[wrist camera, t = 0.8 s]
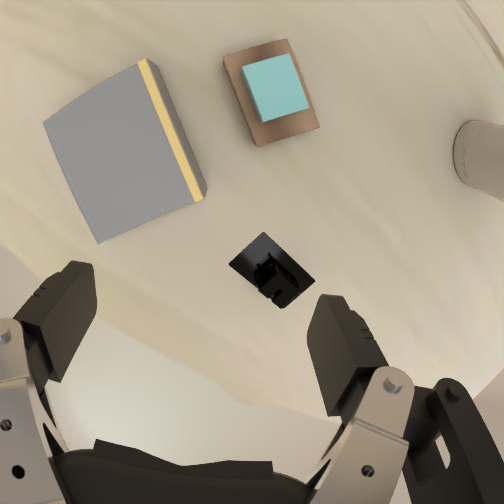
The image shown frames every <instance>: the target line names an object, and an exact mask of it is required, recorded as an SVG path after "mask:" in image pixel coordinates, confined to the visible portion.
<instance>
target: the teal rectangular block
mask: <svg viewBox="0 0 504 504" xmlns="http://www.w3.org/2000/svg"><path fill="white" fill-rule="evenodd" d="M241 73H242V76H243V78H244V81H245V83H246V86H247V88H248V91H249V93H250V96H251V99H252V101H253V104H254V107H255V109H256V112H257V114H258V117H259V120H260V122H265V121H268V120H272V119H275V118H278V117H281V116H284V115H287V114H291V113H294V112H297V111H301V110H304V109H308V108H309V105H308V102H307V100H306V97H305V94H304V91H303V88H302V86H301V83H300V80H299V77H298V75H297V72H296V69H295V67H294V64H293V62H292V59H291V57H290V54H285V55H281V56H277V57H273V58H270V59H266V60H263V61H259V62H256V63H253V64H249V65H246V66H243V67H242V69H241Z"/></svg>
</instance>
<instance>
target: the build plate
mask: <svg viewBox="0 0 504 504" xmlns="http://www.w3.org/2000/svg"><path fill="white" fill-rule="evenodd" d="M229 265H230V266H231V267H232V268H233V269H234V270H236V271H237V272H238V273H239V274H241V275H242V276H243V277H244V278H246V279H247V280H248V281H249V282H250V283H252V284H253V285H254V286H255V287H257V288H258V291H259V292H260V293H262V294H263V295H264V296H265V297H267V298H270V299H271V300H272V302H273V303H274V304H275V305H277V306H278V307H279V308H280V309H282V308H285V307H286V306H288V305H289V304H290V303H291V302H292V301H293V300H295V299H296V298H297V297H298V296H299V295H300V294H301V293H303V292H304V291H305V290H306V289H307V288H308V287H309V286H311V285H312V284H313V283H314V282H315V280H314V279H313V278H312V277H311V276H310V275H309V274H308V273H307V272H306V271H305V270H304V269H303V268H302V267H301V266H300V265H299V264H298V263H297V262H295V261H294V260H293V259H292V258H291V257H290V256H289V255H288V254H287V253H286V252H285V251H284V250H283V249H282V248H281V247H280V246H279V245H277V244H276V243H275V242H274V241H273V240H272V239H271V238H270V237H269V236H268V235H267V234H266V233H265V232H262V233H261V234H260V235H259V236H258V237H257V238H256V239H255V240H254V241H253V242H251V243H250V244H249V245H248V246H247V247H246V248H245V249H244V250H243V251H242V252H241V253H240V254H238V255H237V256H236V257H235V258H234V259H233V260H232V261H231V262H230V263H229Z"/></svg>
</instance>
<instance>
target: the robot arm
mask: <svg viewBox="0 0 504 504" xmlns="http://www.w3.org/2000/svg"><path fill="white" fill-rule="evenodd" d="M454 163H455V168H456V170H457V173H458V175H459V177H460V179H461V180H462V181H463V182H464V183H465V184H467V185H469V186H471V187H473V188H476V189H478V190H480V191H482V192H484V193H486V194H488V195H491V196H493V197H495V198H497V199H499V200H501V201H503V202H504V126H502V125H497V124H492V123H486V122H480V121H469V122H467V123H466V124H464V125H463V126H462V127H461V129H460V131H459V132H458V134H457V137H456V140H455V145H454ZM96 310H97V297H96V288H95V279H94V269H93V266H92V264H90V263H85V262H79V261H71V262H69V264H68V265H67V266H66V267H65V268H64V269H63V270H62V271H61V272H57V273H55V274H53V275H52V276H50V277H48V278H47V279H46V280H45V281H44V282H43V283H42V284H41V285H40V287H39V288H38V289H37V290H36V291H35V292H34V293H33V296H31V297H30V298H29V299H28V300H27V302H26V303H25V304H24V305H23V306H22V308H21V309H20V310H19V311H18V312H17V313H16V315H15V316H14V317H13V318H12V319H11V318H2V319H0V504H389V503H390V500H391V497H392V495H393V493H394V490H395V487H396V485H397V482H398V479H399V476H400V473H401V470H402V471H403V475H404V478H405V481H406V485H407V488H408V492H409V495H410V499H411V503H412V504H504V462H503V460H502V458H501V455H500V453H499V451H498V449H497V447H496V445H495V443H494V441H493V439H492V436H491V434H490V432H489V430H488V429H487V427H486V425H485V423H484V421H483V419H482V417H481V415H480V413H479V411H478V410H477V408H476V406H475V404H474V402H473V400H472V399H471V397H470V395H469V393H468V392H467V390H466V388H465V387H464V386H463V385H462V384H461V383H459V382H458V381H456V380H454V379H451V378H442V379H440V380H439V381H438V382H437V384H436V385H435V386H434V388H433V389H430V388H424V387H419V386H414V384H413V381H412V380H411V378H410V377H409V376H408V375H407V374H406V373H405V372H403V371H402V370H400V369H398V368H395V367H390V366H389V365H388V363H387V361H386V359H385V357H384V355H383V353H382V351H381V350H380V348H379V346H378V344H377V342H376V340H374V337H373V335H372V333H371V331H369V328H368V326H367V324H366V322H365V320H364V319H363V318H362V317H361V316H360V315H358V314H357V313H356V312H355V311H353V310H350V308H349V306H348V304H347V303H346V301H345V299H344V297H343V296H338V295H327V294H322V295H321V296H320V297H319V299H318V302H317V305H316V308H315V311H314V314H313V316H312V319H311V322H310V325H309V328H308V332H307V345H308V348H309V352H310V355H311V359H312V362H313V366H314V369H315V373H316V376H317V379H318V383H319V387H320V390H321V394H322V397H323V401H324V404H325V408H326V411H327V415H328V417H329V416H341V419H342V422H341V424H340V425H339V427H338V428H337V430H336V432H335V434H334V435H333V437H332V439H331V441H330V443H329V444H328V446H327V448H326V449H325V451H324V453H323V454H322V456H321V458H320V459H319V461H318V463H317V464H316V466H315V467H314V469H313V470H312V471H311V473H310V474H309V475H308V476H307V478H306V479H305V481H304V482H301V481H299V480H298V479H295V478H293V477H290V476H288V475H284V474H281V473H277V472H273V466H272V461H231V460H227V461H221V462H215V463H207V464H199V465H190V466H180V465H176V464H173V463H171V462H168V461H165V460H163V459H160V458H158V457H155V456H152V455H150V454H148V453H145V452H143V451H141V450H139V449H136V448H131V447H126V446H122V445H118V444H114V443H110V442H106V441H102V440H98V439H96V441H95V444H94V448H93V449H80V450H74V451H69V449H68V447H67V445H66V443H65V441H64V439H63V437H62V435H61V432H60V429H59V426H58V423H57V421H56V418H55V415H54V412H53V409H52V405H51V402H50V399H49V395H48V392H47V389H46V387H45V385H46V383H47V381H48V379H50V380H53V381H56V382H59V383H60V382H61V380H62V378H63V376H64V374H65V372H66V370H67V368H68V366H69V364H70V362H71V360H72V358H73V356H74V354H75V352H76V350H77V348H78V347H79V345H80V343H81V341H82V339H83V337H84V335H85V333H86V332H87V330H88V328H89V326H90V324H91V322H92V321H93V319H94V317H95V314H96ZM441 435H442V437H443V439H444V441H445V444H446V446H447V449H448V451H449V454H450V464H449V466H448V468H447V469H446V468H445V466H444V463H443V460H442V458H441V455H440V452H439V450H438V447H437V445H436V442H435V440H436V439H437V438H438V437H439V436H441Z"/></svg>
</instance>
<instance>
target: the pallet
mask: <svg viewBox="0 0 504 504" xmlns="http://www.w3.org/2000/svg"><path fill="white" fill-rule="evenodd" d="M285 54H290V57H291V59H292V62H293V64H294V67H295V69H296V72H297V75H298V77H299V80H300V83H301V86H302V88H303V91H304V94H305V97H306V100H307V102H308V105H309V108H308V109H304V110H301V111H297V112H294V113H291V114H287V115H284V116H281V117H278V118H275V119H272V120H268V121H265V122H260V120H259V117H258V114H257V112H256V109H255V107H254V104H253V101H252V99H251V96H250V93H249V91H248V88H247V86H246V83H245V81H244V78H243V76H242V73H241V69H242V67H243V66H246V65H249V64H253V63H256V62H259V61H263V60H266V59H270V58H273V57H277V56H281V55H285ZM223 65H224V67H225V70H226V72H227V75H228V77H229V80H230V82H231V85H232V87H233V90H234V92H235V95H236V97H237V100H238V102H239V105H240V107H241V110H242V113H243V115H244V118H245V120H246V123H247V126H248V128H249V131H250V134H251V136H252V139H253V142H254V144H255V145H256V146H257V147H260V146H263V145H266V144H269V143H272V142H275V141H278V140H281V139H284V138H287V137H290V136H293V135H296V134H300V133H303V132H306V131H309V130H313V129H316V128H319V127H320V126H319V123H318V120H317V117H316V114H315V111H314V108H313V105H312V102H311V100H310V97H309V94H308V91H307V88H306V85H305V83H304V80H303V77H302V75H301V72H300V69H299V67H298V64H297V62H296V59H295V56H294V54H293V51H292V49H291V47H290V44H289V42H288V39H287V38H286V39H282V40H278V41H274V42H270V43H266V44H262V45H259V46H255V47H252V48H249V49H245V50H242V51H239V52H236V53H233V54H230V55H227V56H224V57H223Z"/></svg>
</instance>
